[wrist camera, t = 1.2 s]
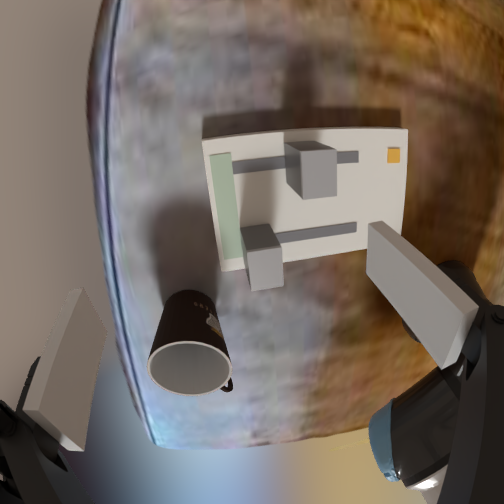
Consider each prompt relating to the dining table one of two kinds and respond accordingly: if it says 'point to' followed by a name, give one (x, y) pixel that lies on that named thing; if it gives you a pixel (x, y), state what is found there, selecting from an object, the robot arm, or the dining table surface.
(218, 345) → the coffee mug
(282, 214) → the panel
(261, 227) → the block
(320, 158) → the block
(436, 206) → the dining table surface
